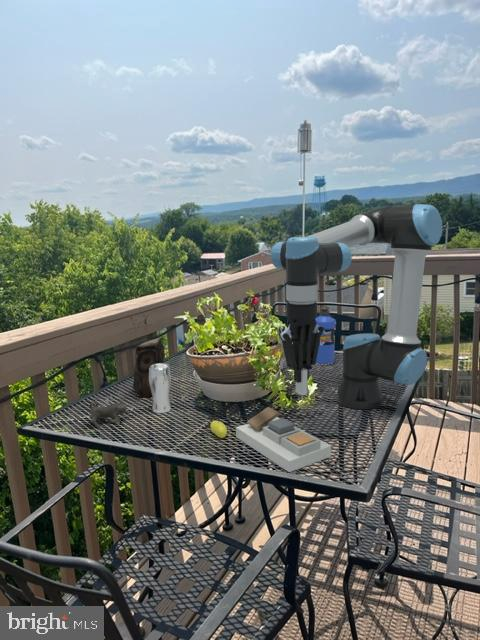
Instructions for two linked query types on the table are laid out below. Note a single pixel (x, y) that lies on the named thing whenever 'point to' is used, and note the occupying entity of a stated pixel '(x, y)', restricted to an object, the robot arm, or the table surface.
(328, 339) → the water bottle
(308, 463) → the switch housing
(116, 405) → the dog figurine
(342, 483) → the table surface
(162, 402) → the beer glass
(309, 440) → the orange button
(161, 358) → the dark brown speaker
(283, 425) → the charcoal button
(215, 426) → the lemon
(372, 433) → the table surface
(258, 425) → the walnut rocker
